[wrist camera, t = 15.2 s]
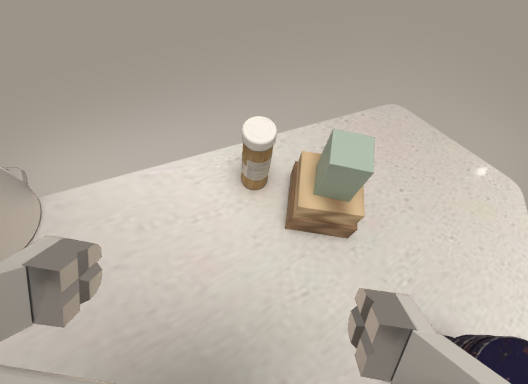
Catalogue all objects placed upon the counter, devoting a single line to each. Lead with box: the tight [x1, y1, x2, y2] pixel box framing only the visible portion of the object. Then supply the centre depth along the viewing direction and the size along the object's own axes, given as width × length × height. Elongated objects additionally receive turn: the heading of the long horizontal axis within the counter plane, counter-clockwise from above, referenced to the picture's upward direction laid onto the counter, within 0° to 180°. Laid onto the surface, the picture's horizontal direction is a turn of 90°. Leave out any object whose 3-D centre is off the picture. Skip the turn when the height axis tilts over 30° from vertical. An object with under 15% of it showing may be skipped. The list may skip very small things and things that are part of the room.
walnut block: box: [285, 161, 357, 238], centre depth 46 cm, size 10×10×4 cm
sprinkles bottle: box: [241, 116, 277, 190], centre depth 43 cm, size 5×5×14 cm
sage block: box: [313, 129, 375, 202], centre depth 37 cm, size 5×5×8 cm
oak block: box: [293, 151, 365, 226], centre depth 42 cm, size 9×9×4 cm
